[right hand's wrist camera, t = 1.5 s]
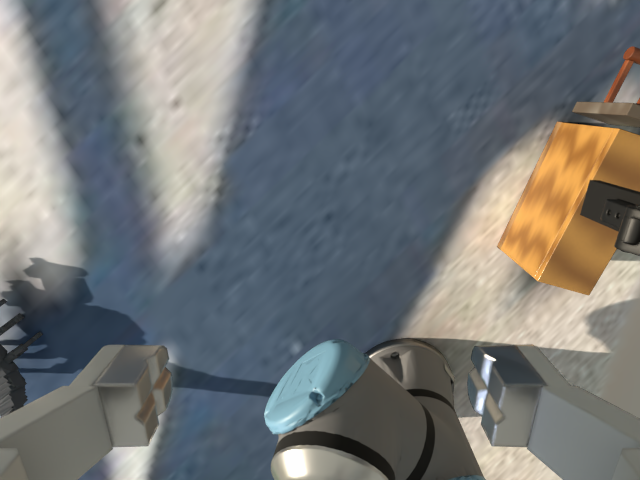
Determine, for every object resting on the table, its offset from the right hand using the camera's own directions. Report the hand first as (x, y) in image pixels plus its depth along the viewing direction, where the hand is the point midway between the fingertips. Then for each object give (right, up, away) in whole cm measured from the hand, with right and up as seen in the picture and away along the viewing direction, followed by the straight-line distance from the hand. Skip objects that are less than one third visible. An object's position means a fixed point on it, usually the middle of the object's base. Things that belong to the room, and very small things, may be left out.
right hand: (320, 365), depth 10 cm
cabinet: (+30, +9, +40) cm, 51 cm away
